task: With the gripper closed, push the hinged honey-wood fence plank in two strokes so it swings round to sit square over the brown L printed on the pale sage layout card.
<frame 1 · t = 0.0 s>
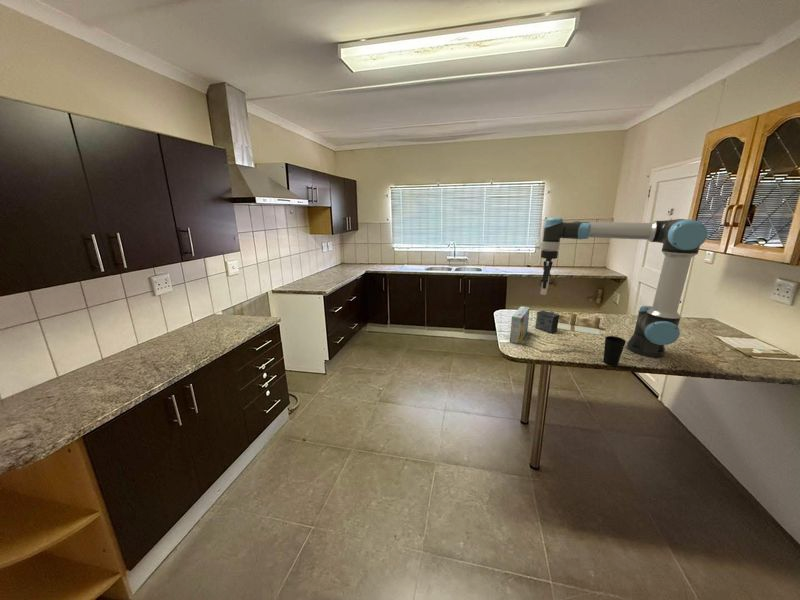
hand: (544, 291, 158), 28 cm above the countertop, fingers open, 13 cm apart
cup: (610, 363, 143), on the countertop
snack box: (518, 337, 173), on the countertop
small box: (545, 330, 183), on the countertop
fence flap: (559, 317, 193), point 4 cm above the countertop, hinge at 0.0°
fence fixed: (572, 325, 190), resting on layout card
layout card: (572, 326, 188), on the countertop
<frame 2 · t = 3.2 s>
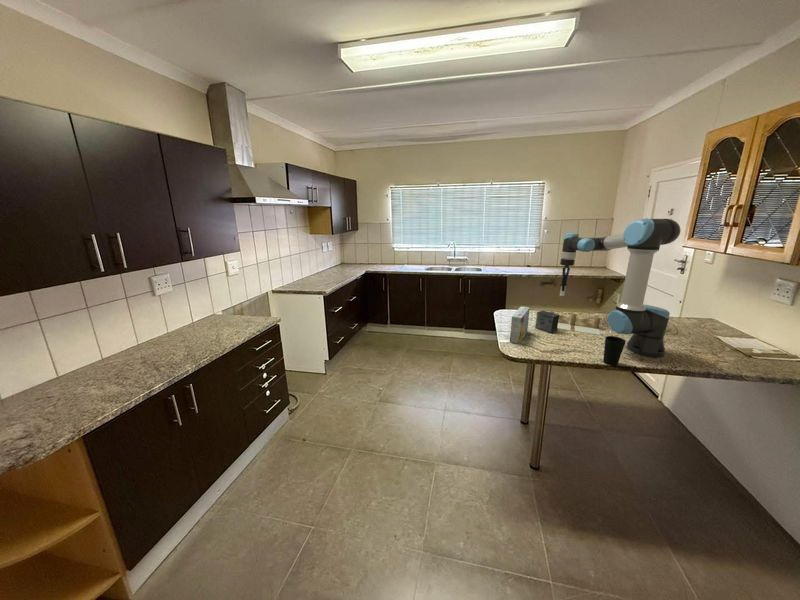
hand: (562, 295, 195), 16 cm above the countertop, fingers closed
nothing on the countertop moved.
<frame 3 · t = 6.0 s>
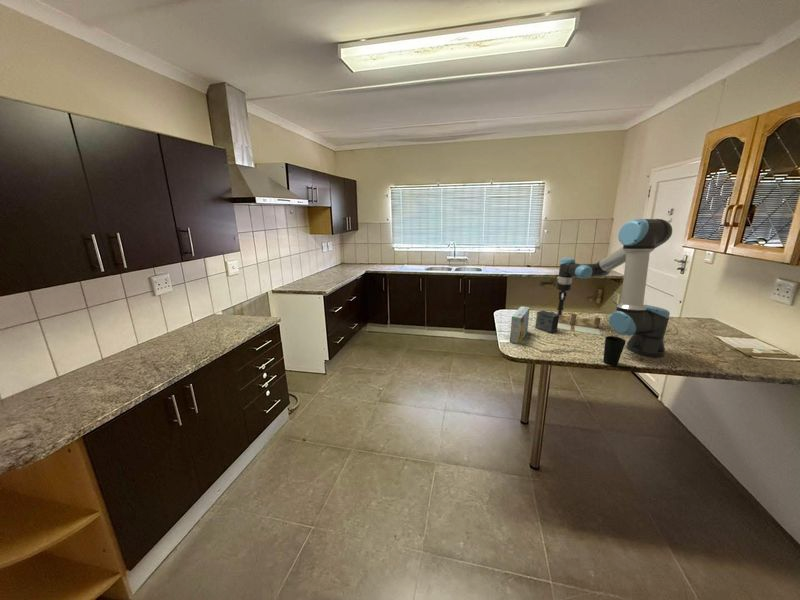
hand: (558, 319, 195), 2 cm above the countertop, fingers closed
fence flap: (559, 317, 193), point 4 cm above the countertop, hinge at 2.7°, touching gripper
everything else where it was.
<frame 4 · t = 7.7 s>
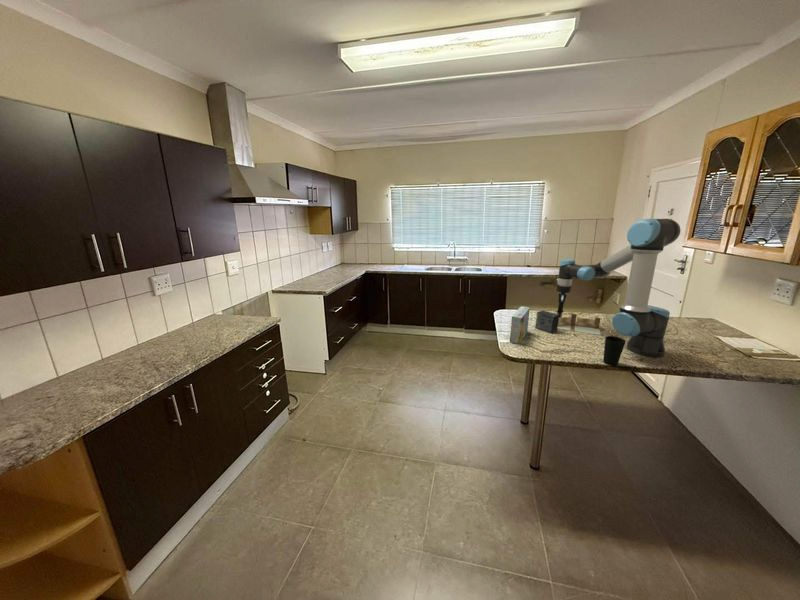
hand: (558, 322, 190), 2 cm above the countertop, fingers closed
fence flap: (562, 320, 188), point 4 cm above the countertop, hinge at 40.5°, touching gripper
everything else where it was.
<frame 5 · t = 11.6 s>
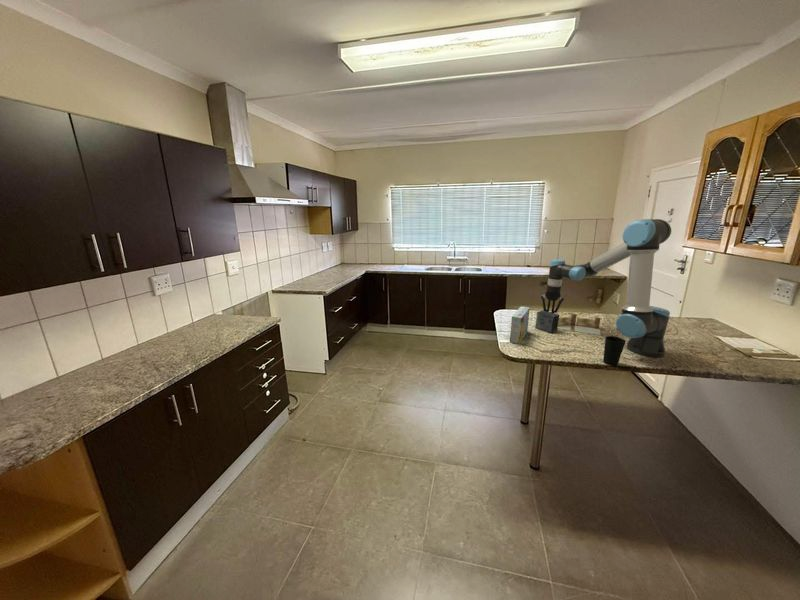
hand: (548, 322, 190), 2 cm above the countertop, fingers closed
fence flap: (562, 320, 188), point 4 cm above the countertop, hinge at 40.1°, touching gripper
everything else where it was.
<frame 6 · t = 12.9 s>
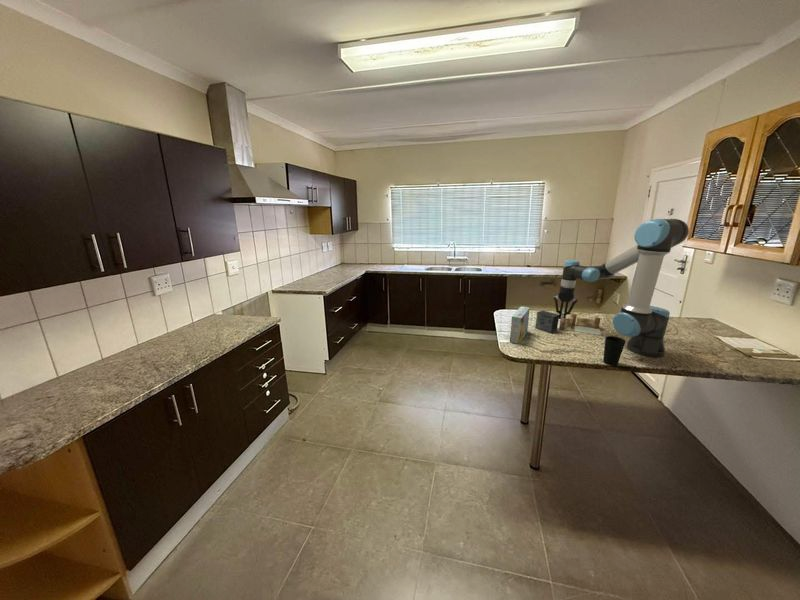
hand: (560, 324, 187), 2 cm above the countertop, fingers closed
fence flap: (566, 322, 185), point 4 cm above the countertop, hinge at 62.3°, touching gripper
everything else where it was.
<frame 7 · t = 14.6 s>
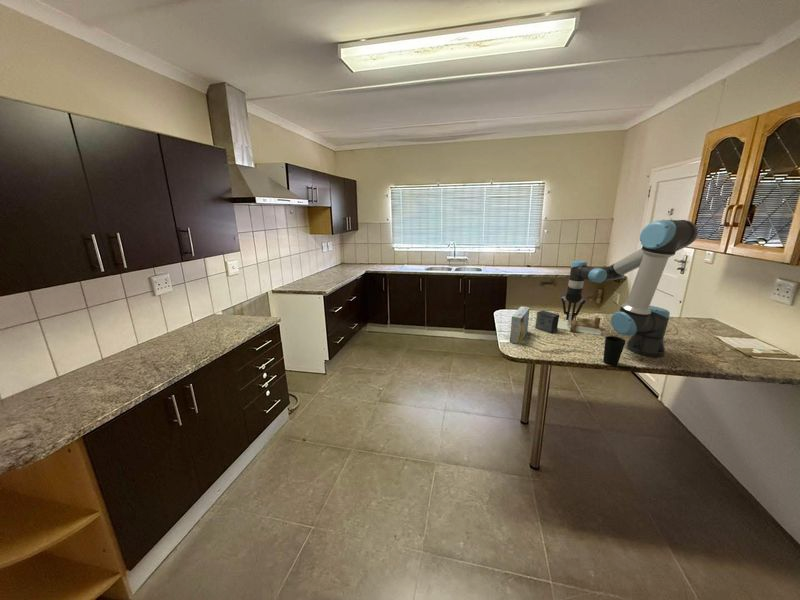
hand: (568, 325, 185), 2 cm above the countertop, fingers closed
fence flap: (573, 323, 183), point 4 cm above the countertop, hinge at 90.2°
everything else where it was.
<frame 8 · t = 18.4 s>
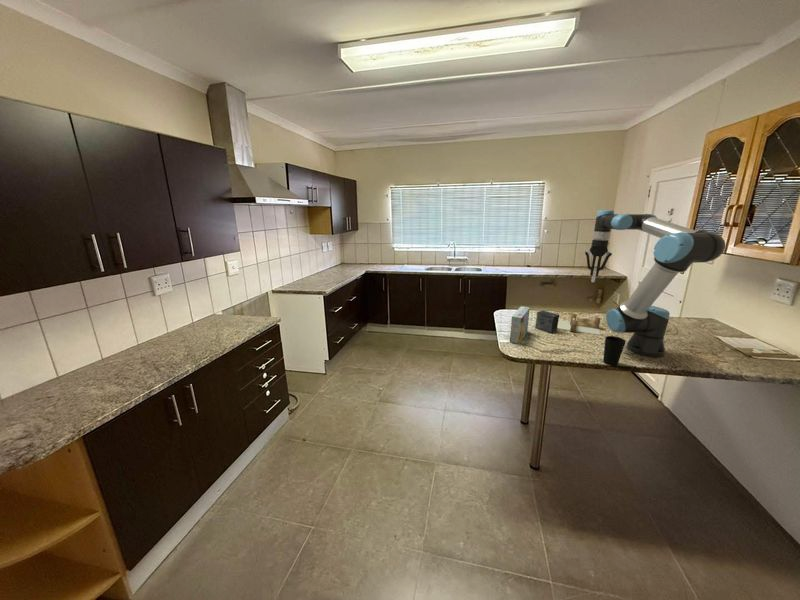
hand: (592, 281, 174), 29 cm above the countertop, fingers closed
nothing on the countertop moved.
at the end: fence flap at +90° (first picture: +0°) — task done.
